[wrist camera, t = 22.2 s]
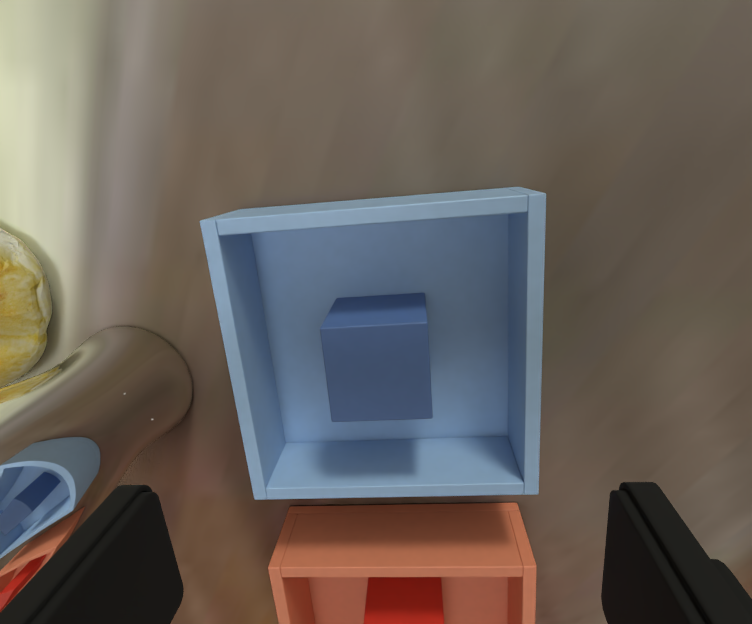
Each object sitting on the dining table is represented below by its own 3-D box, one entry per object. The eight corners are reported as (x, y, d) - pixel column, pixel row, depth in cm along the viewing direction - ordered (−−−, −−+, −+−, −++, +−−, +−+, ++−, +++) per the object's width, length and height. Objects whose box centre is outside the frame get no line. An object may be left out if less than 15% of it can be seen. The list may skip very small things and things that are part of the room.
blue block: (425, 292, 21) (427, 322, 17) (429, 374, 22) (433, 419, 18) (336, 297, 21) (319, 327, 17) (345, 378, 22) (331, 422, 19)
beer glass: (145, 462, 25) (-194, 847, 11) (43, 373, 24) (-485, 678, 10) (230, 389, 24) (-47, 736, 9) (124, 287, 22) (-380, 514, 8)
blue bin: (520, 186, 20) (546, 193, 16) (517, 438, 23) (538, 494, 19) (239, 209, 21) (199, 220, 17) (279, 445, 24) (253, 500, 21)
